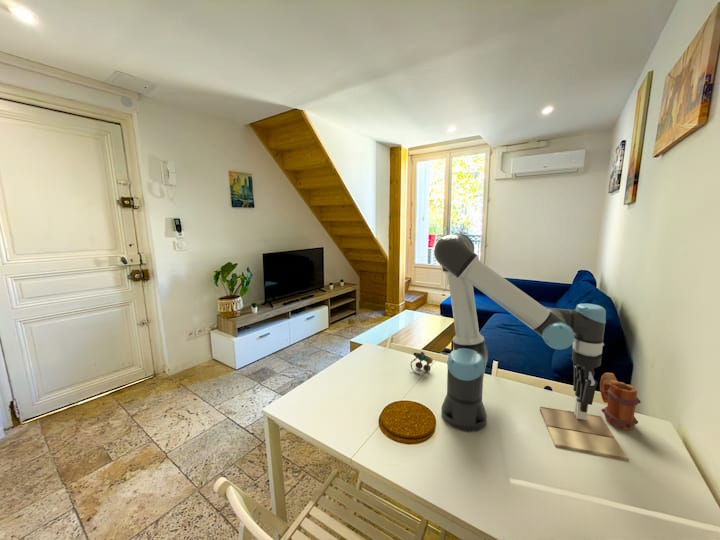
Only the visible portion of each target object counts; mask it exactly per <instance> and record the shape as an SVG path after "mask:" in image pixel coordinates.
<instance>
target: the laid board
mask: <svg viewBox="0 0 720 540" xmlns="http://www.w3.org/2000/svg"><path fill="white" fill-rule="evenodd" d="M546 428H547V431H548V433H549V436H550V438H551V441H552V443H553V445H554V447H556V448H557V447H558V448H563V449H567V450H573V451H578V452H583V453H588V454H594V455H598V456H605V457H609V458H614V459H617V460H619V459H620V460H625V461H629V459H630V458H629V456H628V455H627V453H626V452H625V450H624V449H623V448H622V447H621V445H620V444H619V442H618V441H617V439H616V438H615V437H614V438H610V437H604V436H599V435H593V434H588V433H582V432H576V431H571V430H565V429H559V428H554V427H548V426H547V427H546Z"/></svg>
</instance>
